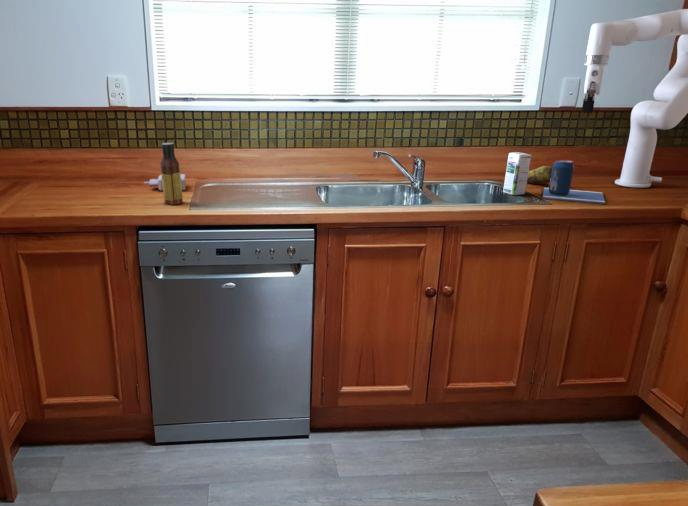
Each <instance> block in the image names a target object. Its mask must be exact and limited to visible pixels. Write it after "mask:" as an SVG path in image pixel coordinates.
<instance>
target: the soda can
mask: <svg viewBox="0 0 688 506" xmlns="http://www.w3.org/2000/svg"><path fill="white" fill-rule="evenodd" d="M552 166H553V168H552V174H551V180H550V183H549V185H548V188H549V192H550V194H551V195H554V196H566V195H567V194H568V193H569V191H570V190H571V185H572V180H573V174H574V169H575V165H574V160H570V159H556V160H555V162H554V163H553V165H552Z"/></svg>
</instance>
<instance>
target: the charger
mask: <svg viewBox="0 0 688 506" xmlns="http://www.w3.org/2000/svg"><path fill="white" fill-rule="evenodd" d="M180 176H181V185H182V191H186V187H187V185H186V183H187V182H186V174H185V173H180ZM143 184H144V185H147V184H148V185H149V187H150V188H151V187H158V190H159V191H161V192H163V185H162V176H161V174H159V175H158V177H157V178H151V179H149V181H144V182H143Z"/></svg>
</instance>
